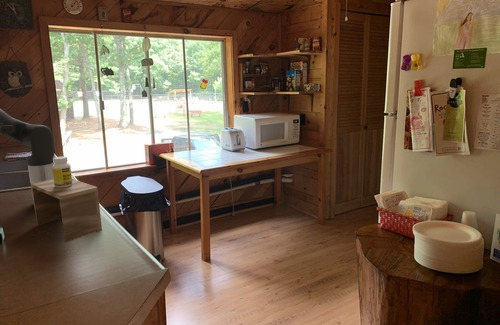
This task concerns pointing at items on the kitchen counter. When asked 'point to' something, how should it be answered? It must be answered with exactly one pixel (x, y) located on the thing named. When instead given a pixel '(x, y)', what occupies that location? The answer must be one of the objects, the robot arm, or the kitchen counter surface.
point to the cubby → (68, 207)
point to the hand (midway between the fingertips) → (9, 127)
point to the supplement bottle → (62, 172)
